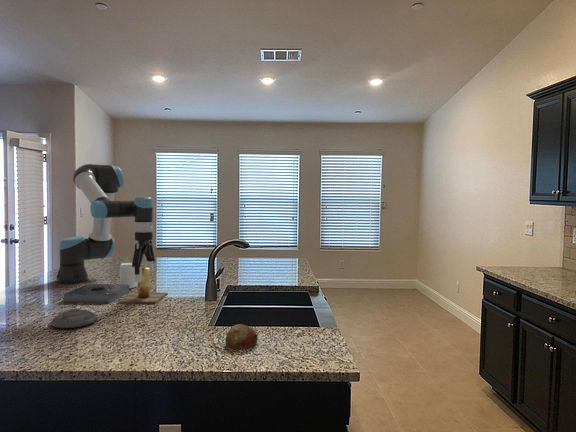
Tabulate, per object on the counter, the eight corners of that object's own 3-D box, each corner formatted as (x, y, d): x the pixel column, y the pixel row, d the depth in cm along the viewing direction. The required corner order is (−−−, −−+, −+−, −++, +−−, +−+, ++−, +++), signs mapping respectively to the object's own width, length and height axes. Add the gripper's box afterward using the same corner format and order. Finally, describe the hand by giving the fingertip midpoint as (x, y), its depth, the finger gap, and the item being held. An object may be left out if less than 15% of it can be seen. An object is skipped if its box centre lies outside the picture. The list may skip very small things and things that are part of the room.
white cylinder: (131, 289, 195) (130, 265, 194) (116, 288, 197) (116, 264, 196) (140, 286, 203) (140, 262, 202) (126, 285, 205) (125, 262, 204)
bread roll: (231, 349, 132) (221, 327, 131) (260, 335, 132) (249, 314, 132) (230, 361, 122) (219, 338, 121) (260, 346, 123) (249, 323, 122)
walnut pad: (133, 294, 187) (133, 291, 187) (167, 294, 186) (167, 292, 186) (118, 303, 171) (118, 301, 171) (155, 304, 170) (155, 301, 170)
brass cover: (140, 295, 181) (140, 266, 180) (151, 295, 181) (151, 267, 180) (136, 298, 176) (136, 268, 175) (147, 298, 176) (147, 269, 175)
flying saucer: (64, 334, 133) (64, 318, 133) (42, 326, 141) (41, 310, 141) (105, 322, 146) (105, 307, 146) (82, 315, 154) (82, 301, 154)
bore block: (87, 291, 191) (87, 283, 191) (128, 291, 191) (128, 284, 191) (63, 302, 171) (63, 294, 171) (109, 303, 171) (109, 295, 171)
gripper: (141, 234, 164) (141, 284, 166) (161, 229, 189) (161, 273, 190) (123, 234, 165) (123, 284, 166) (145, 228, 189) (146, 272, 191)
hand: (144, 278), depth 178 cm, fingers open, 13 cm apart
